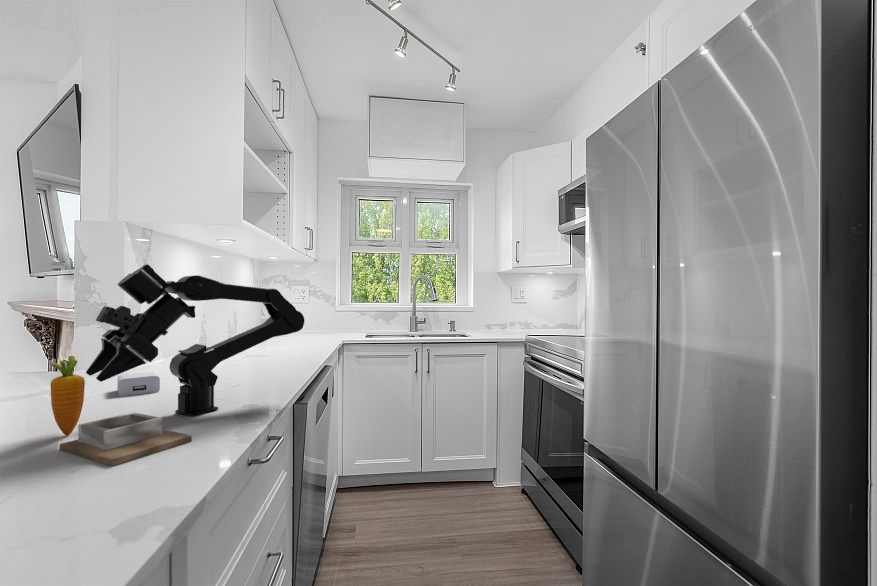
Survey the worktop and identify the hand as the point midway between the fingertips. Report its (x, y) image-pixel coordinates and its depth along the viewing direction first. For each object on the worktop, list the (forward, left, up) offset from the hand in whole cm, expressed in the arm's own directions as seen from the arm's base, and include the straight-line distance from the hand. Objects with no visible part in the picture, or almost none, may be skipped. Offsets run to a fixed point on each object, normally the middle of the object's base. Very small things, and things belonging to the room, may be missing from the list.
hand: (92, 377), depth 85 cm
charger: (-26, -32, -11) cm, 43 cm away
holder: (+2, +15, -11) cm, 18 cm away
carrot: (+4, -1, -11) cm, 11 cm away
